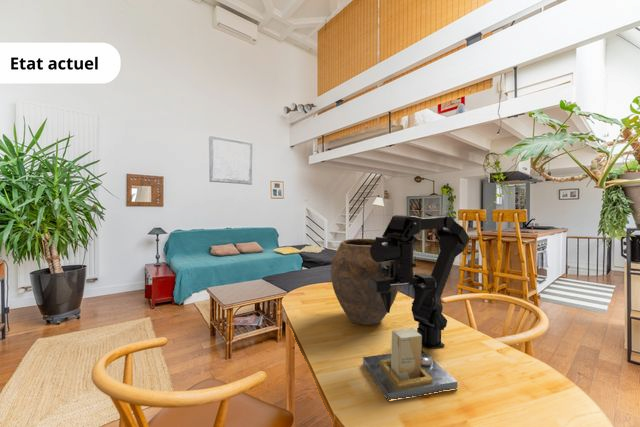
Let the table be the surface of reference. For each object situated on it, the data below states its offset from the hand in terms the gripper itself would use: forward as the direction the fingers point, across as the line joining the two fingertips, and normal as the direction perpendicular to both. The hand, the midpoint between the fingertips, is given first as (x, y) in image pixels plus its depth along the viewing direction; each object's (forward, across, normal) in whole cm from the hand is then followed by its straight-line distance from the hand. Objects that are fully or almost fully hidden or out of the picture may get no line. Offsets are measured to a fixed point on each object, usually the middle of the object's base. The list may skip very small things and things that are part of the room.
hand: (402, 311), depth 81 cm
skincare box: (+13, +5, +11) cm, 18 cm away
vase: (+13, +1, -26) cm, 29 cm away
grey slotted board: (+13, +4, +10) cm, 17 cm away
